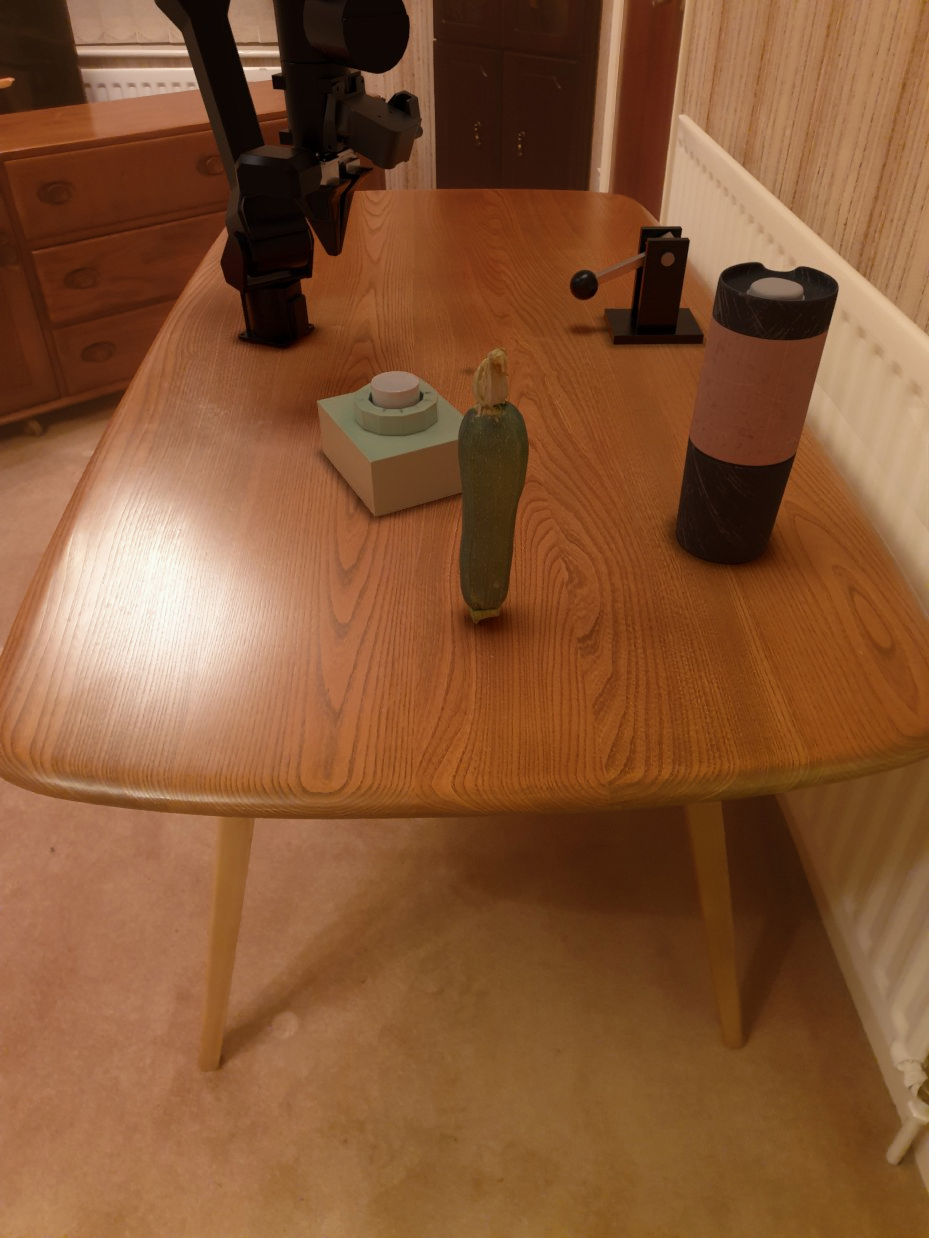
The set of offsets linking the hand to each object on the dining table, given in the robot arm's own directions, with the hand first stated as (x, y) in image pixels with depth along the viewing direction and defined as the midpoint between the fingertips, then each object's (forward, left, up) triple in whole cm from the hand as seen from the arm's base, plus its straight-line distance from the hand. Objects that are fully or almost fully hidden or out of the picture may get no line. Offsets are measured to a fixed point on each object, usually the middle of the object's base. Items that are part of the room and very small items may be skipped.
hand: (334, 255), depth 81 cm
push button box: (+13, -13, -13) cm, 22 cm away
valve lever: (+22, +25, -7) cm, 34 cm away
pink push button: (+13, -13, -6) cm, 19 cm away
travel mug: (+41, -12, -13) cm, 45 cm away
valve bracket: (+25, +26, -13) cm, 39 cm away
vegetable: (+28, -28, -13) cm, 42 cm away
